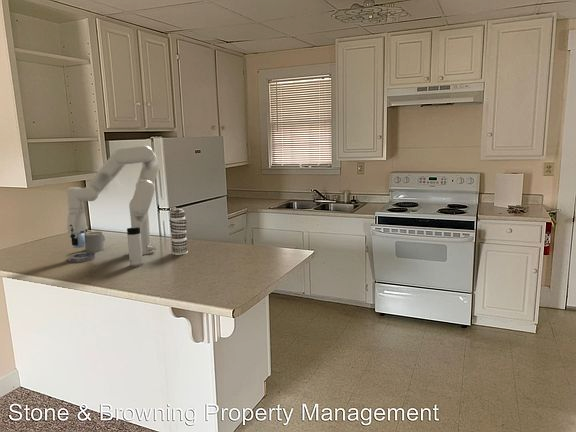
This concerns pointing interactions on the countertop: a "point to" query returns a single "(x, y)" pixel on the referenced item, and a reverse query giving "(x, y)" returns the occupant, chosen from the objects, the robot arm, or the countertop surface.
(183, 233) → the decorative candle
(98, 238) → the coffee mug
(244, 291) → the countertop surface
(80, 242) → the pale blue rounded block
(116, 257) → the countertop surface
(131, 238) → the travel mug
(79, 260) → the collar ring
